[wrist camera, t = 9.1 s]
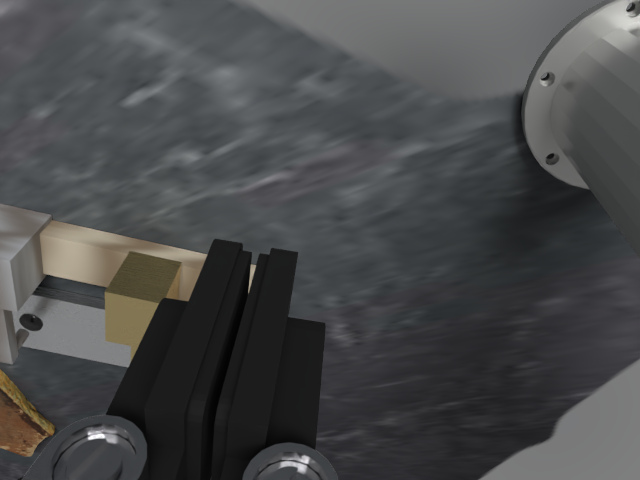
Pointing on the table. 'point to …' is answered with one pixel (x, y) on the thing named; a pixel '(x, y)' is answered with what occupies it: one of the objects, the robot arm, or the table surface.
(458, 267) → the table surface
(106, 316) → the sliding leg
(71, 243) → the divider rail
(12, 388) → the shard
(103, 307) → the bolt plate
